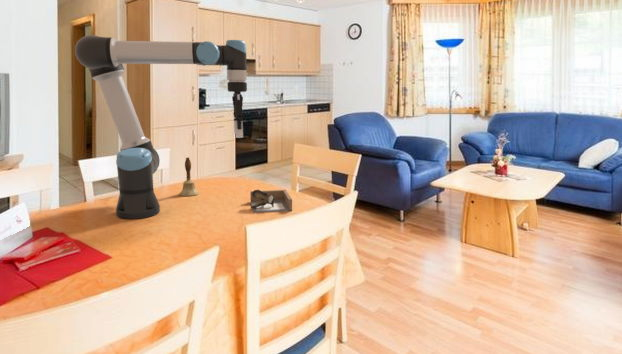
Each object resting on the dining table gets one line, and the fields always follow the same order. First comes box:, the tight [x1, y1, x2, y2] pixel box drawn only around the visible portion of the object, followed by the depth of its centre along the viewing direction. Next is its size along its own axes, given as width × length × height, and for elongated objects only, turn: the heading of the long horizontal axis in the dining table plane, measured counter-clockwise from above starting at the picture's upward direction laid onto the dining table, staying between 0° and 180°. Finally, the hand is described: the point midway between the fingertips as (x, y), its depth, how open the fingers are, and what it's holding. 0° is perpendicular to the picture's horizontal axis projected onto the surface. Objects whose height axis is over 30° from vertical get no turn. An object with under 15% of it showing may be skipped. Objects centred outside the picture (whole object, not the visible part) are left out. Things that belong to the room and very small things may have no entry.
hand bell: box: [179, 157, 200, 197], centre depth 187 cm, size 8×8×16 cm
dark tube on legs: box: [250, 189, 275, 209], centre depth 168 cm, size 8×7×9 cm
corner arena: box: [249, 189, 293, 214], centre depth 171 cm, size 14×15×4 cm
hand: (238, 135), depth 175 cm, fingers open, 13 cm apart
